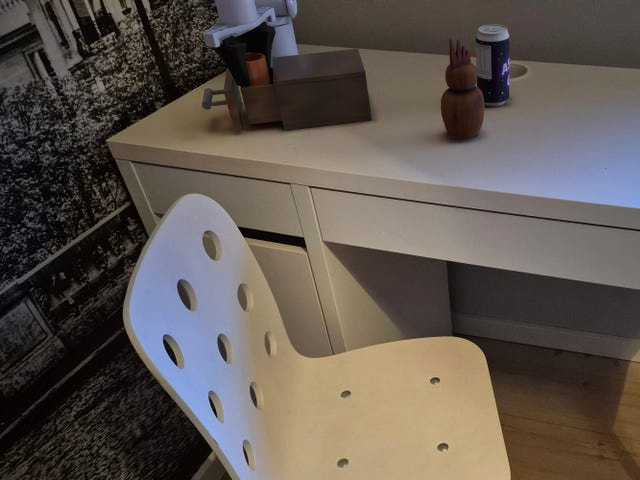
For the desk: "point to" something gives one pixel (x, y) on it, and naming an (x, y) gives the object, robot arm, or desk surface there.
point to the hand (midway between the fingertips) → (254, 80)
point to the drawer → (246, 101)
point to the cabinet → (321, 89)
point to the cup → (257, 69)
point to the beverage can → (493, 63)
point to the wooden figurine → (462, 96)
